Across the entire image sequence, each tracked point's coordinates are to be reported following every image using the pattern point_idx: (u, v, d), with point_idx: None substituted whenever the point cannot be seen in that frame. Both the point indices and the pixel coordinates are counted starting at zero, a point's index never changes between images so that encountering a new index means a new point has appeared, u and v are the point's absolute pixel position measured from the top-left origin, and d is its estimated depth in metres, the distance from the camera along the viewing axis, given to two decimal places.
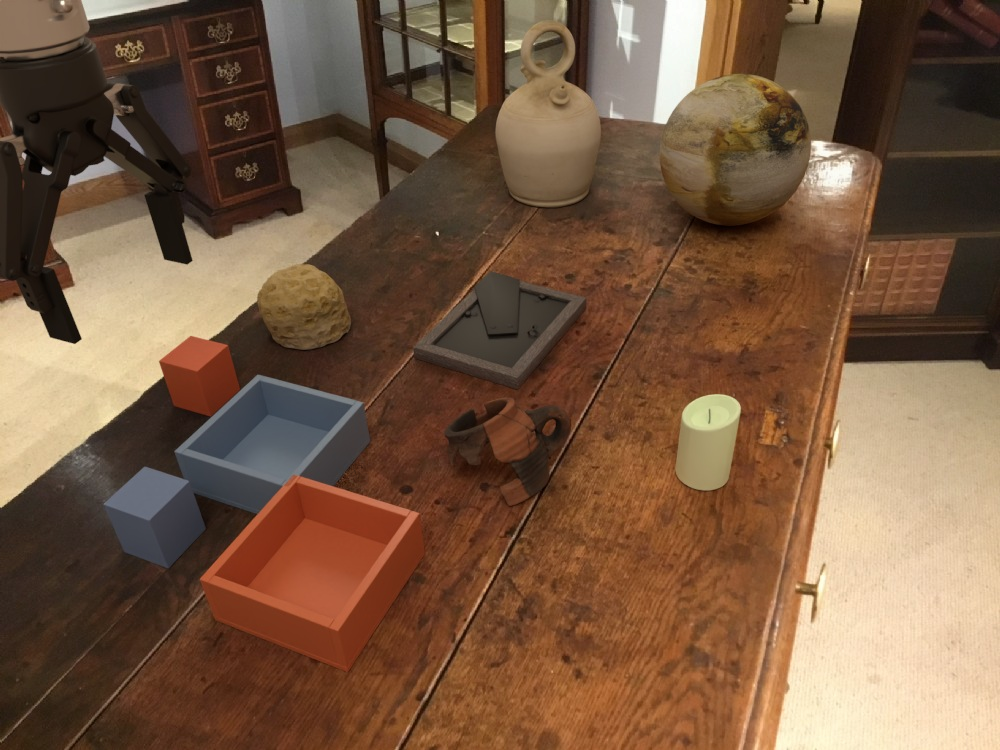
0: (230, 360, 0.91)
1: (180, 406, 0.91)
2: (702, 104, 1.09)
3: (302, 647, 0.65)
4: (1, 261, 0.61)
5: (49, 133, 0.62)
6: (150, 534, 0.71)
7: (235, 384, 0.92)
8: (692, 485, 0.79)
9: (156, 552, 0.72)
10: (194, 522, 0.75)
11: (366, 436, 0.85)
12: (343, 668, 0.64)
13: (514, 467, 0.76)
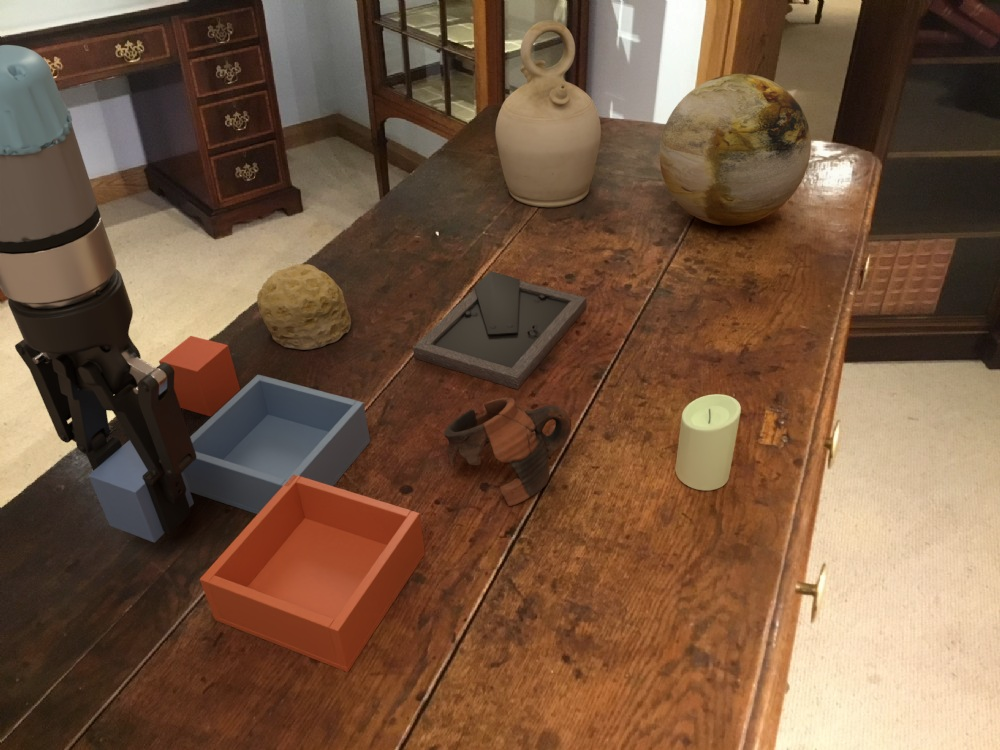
0: (230, 360, 0.91)
1: (180, 406, 0.91)
2: (702, 104, 1.09)
3: (302, 647, 0.65)
4: (190, 451, 0.67)
5: None
6: (136, 507, 0.69)
7: (235, 384, 0.92)
8: (692, 485, 0.79)
9: (142, 525, 0.71)
10: None
11: (366, 436, 0.85)
12: (343, 668, 0.64)
13: (514, 467, 0.76)
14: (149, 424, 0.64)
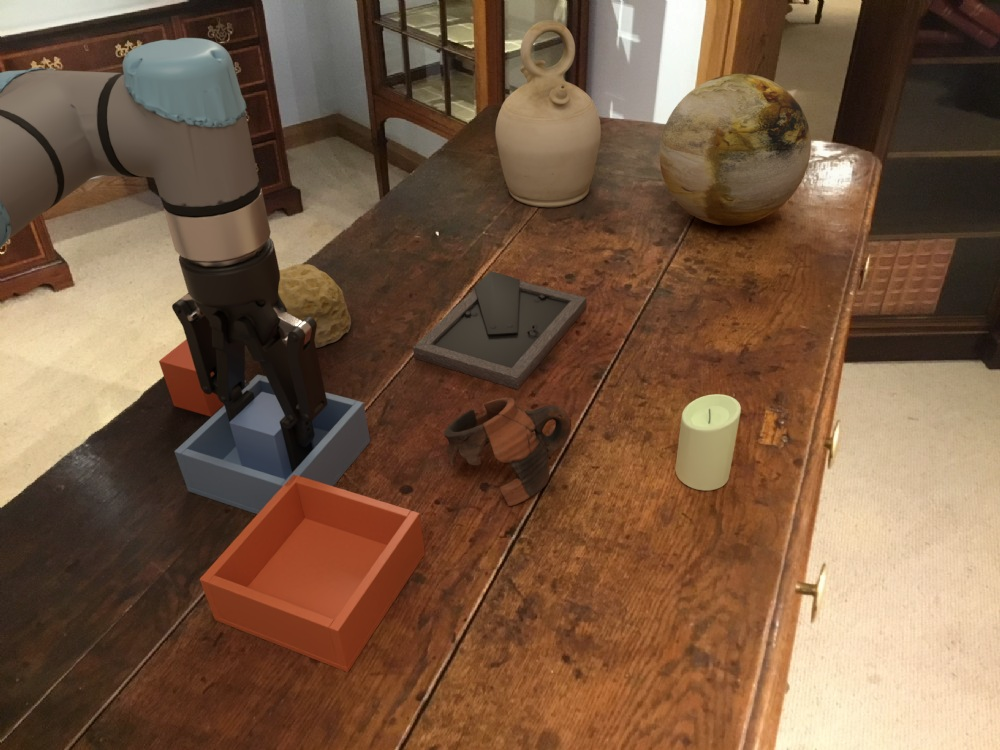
0: None
1: (180, 406, 0.91)
2: (702, 104, 1.09)
3: (302, 647, 0.65)
4: (323, 398, 0.76)
5: None
6: (272, 450, 0.78)
7: None
8: (692, 485, 0.79)
9: (276, 467, 0.79)
10: None
11: (366, 436, 0.85)
12: (343, 668, 0.64)
13: (514, 467, 0.76)
14: (293, 372, 0.72)
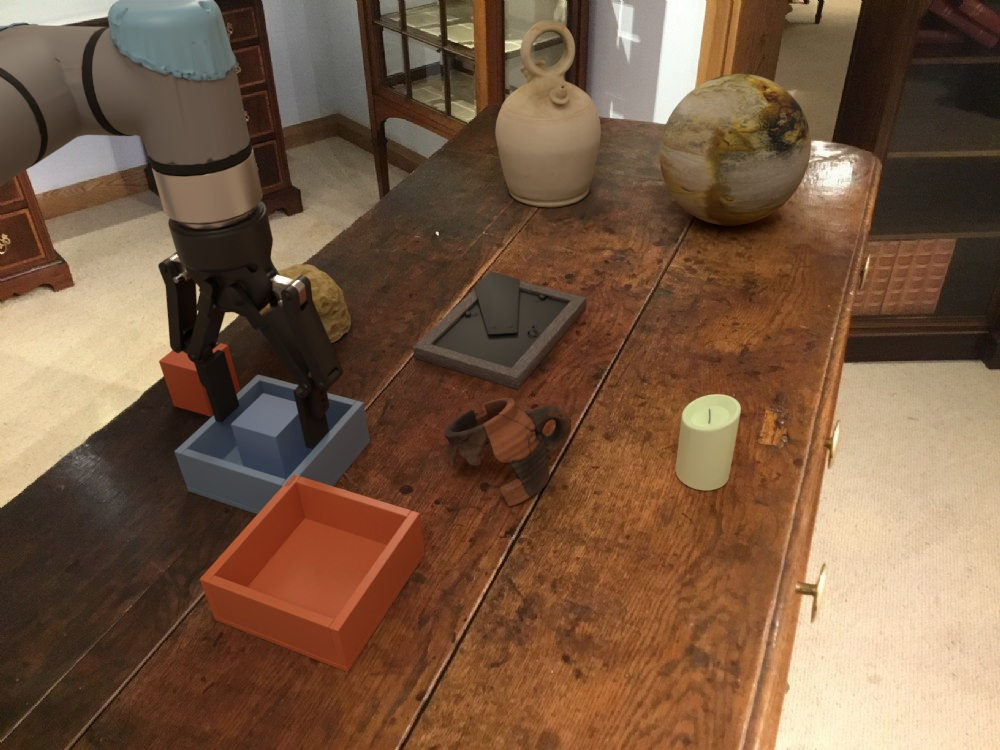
0: (230, 360, 0.91)
1: (180, 406, 0.91)
2: (702, 104, 1.09)
3: (302, 647, 0.65)
4: (336, 365, 0.73)
5: None
6: (274, 451, 0.78)
7: (235, 384, 0.92)
8: (692, 485, 0.79)
9: (278, 468, 0.79)
10: None
11: (366, 436, 0.85)
12: (343, 668, 0.64)
13: (514, 467, 0.76)
14: (296, 337, 0.70)
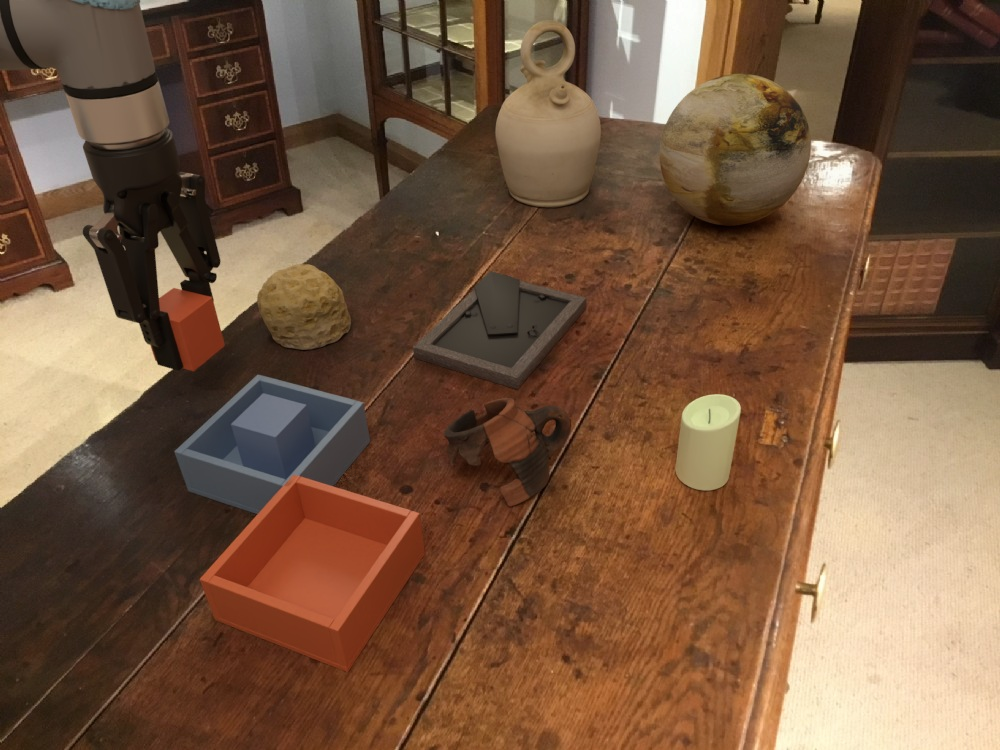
0: (214, 313, 0.87)
1: None
2: (702, 104, 1.09)
3: (302, 647, 0.65)
4: None
5: None
6: (274, 451, 0.78)
7: (219, 339, 0.89)
8: (692, 485, 0.79)
9: (278, 468, 0.79)
10: (308, 444, 0.82)
11: (366, 436, 0.85)
12: (343, 668, 0.64)
13: (514, 467, 0.76)
14: (203, 221, 0.84)
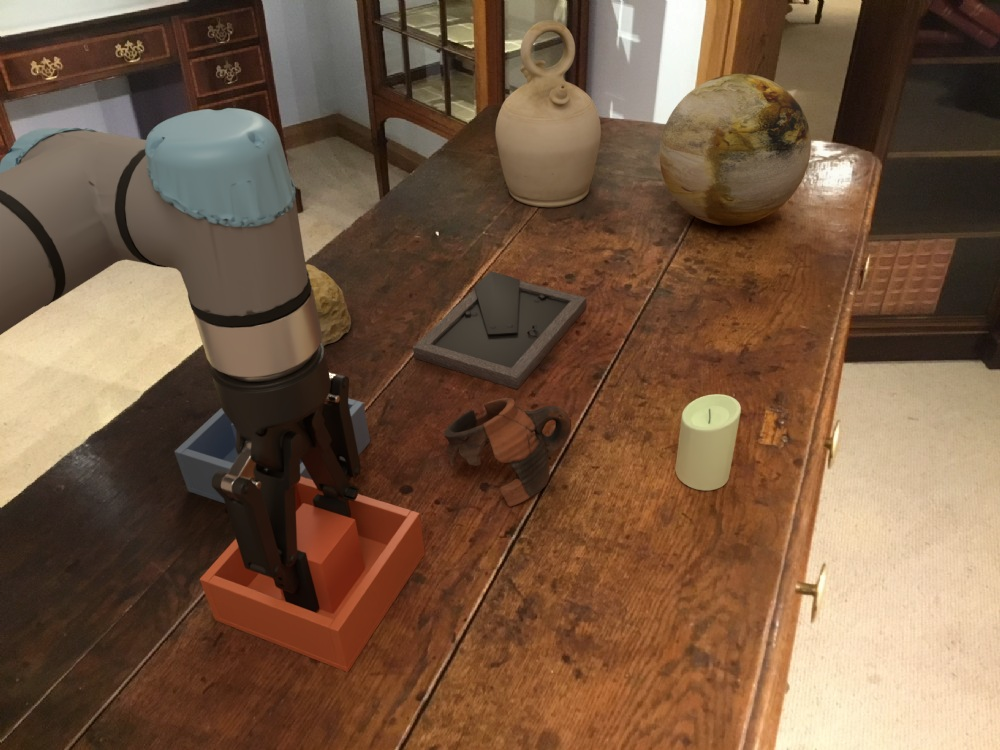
0: (356, 537, 0.69)
1: None
2: (702, 104, 1.09)
3: (302, 647, 0.65)
4: None
5: None
6: None
7: (360, 564, 0.71)
8: (692, 485, 0.79)
9: None
10: None
11: (366, 436, 0.85)
12: (343, 668, 0.64)
13: (514, 468, 0.76)
14: (345, 429, 0.66)
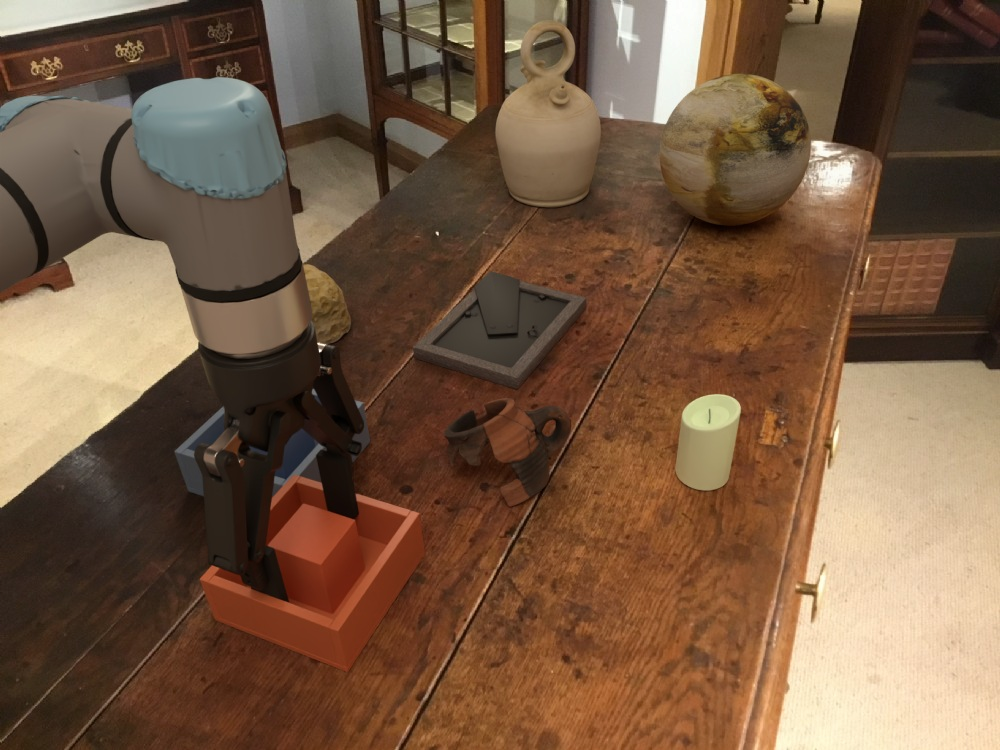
0: (356, 537, 0.69)
1: (290, 597, 0.69)
2: (702, 104, 1.09)
3: (302, 647, 0.65)
4: None
5: None
6: None
7: (360, 564, 0.71)
8: (692, 485, 0.79)
9: None
10: (308, 444, 0.82)
11: (366, 436, 0.85)
12: (343, 668, 0.64)
13: (514, 468, 0.76)
14: (342, 394, 0.66)
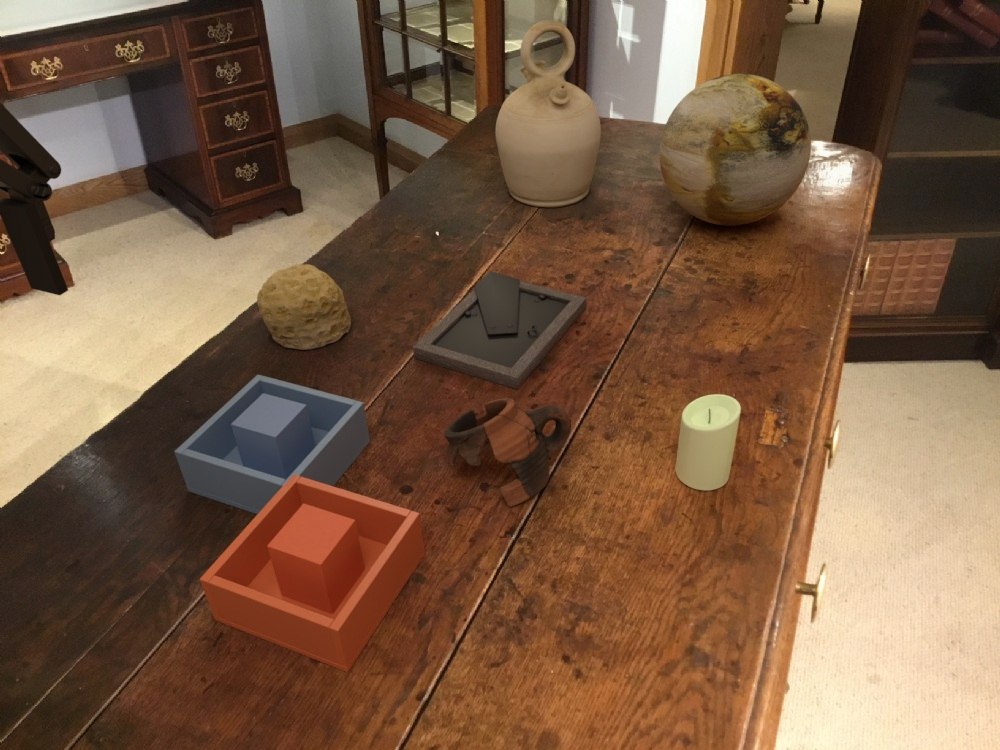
0: (356, 537, 0.69)
1: (290, 597, 0.69)
2: (702, 104, 1.09)
3: (302, 647, 0.65)
4: None
5: None
6: (274, 451, 0.78)
7: (360, 564, 0.71)
8: (692, 485, 0.79)
9: (278, 468, 0.79)
10: (308, 444, 0.82)
11: (366, 436, 0.85)
12: (343, 668, 0.64)
13: (514, 468, 0.76)
14: None
